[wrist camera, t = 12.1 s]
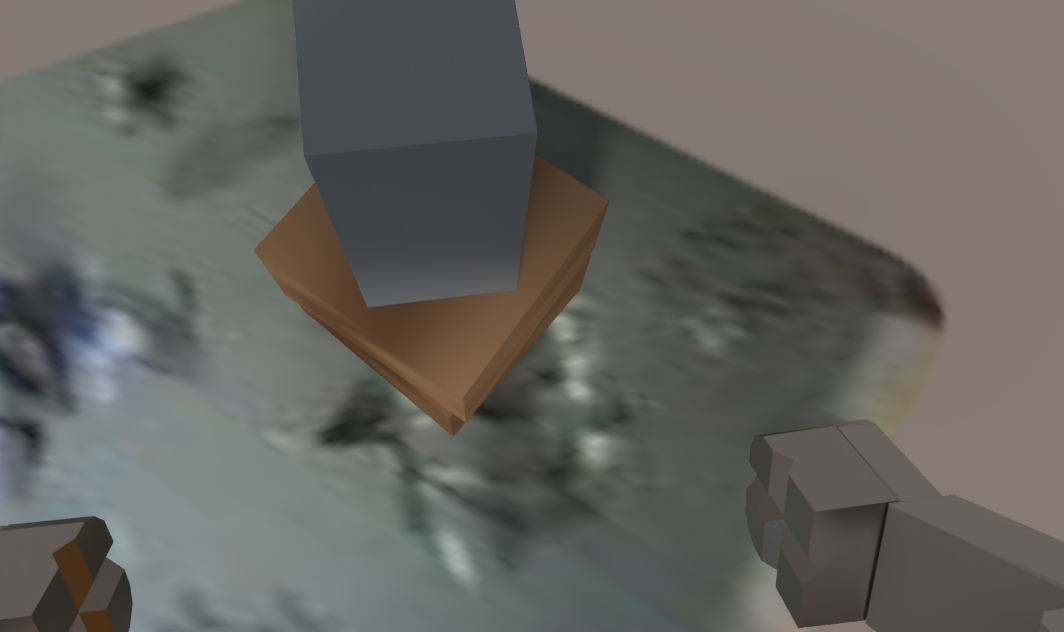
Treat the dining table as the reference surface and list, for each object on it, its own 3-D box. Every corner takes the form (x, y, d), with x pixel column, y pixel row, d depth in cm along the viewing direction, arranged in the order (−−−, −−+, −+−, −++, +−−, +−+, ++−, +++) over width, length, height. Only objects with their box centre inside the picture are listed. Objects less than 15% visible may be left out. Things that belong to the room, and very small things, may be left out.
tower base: (305, 312, 28) (280, 277, 25) (436, 180, 30) (429, 131, 27) (453, 438, 27) (448, 418, 24) (578, 292, 29) (590, 255, 25)
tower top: (285, 294, 24) (253, 250, 21) (421, 137, 26) (412, 74, 23) (466, 423, 24) (463, 398, 20) (593, 249, 26) (609, 200, 22)
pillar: (367, 307, 21) (303, 155, 13) (354, 173, 22) (290, -36, 14) (516, 289, 21) (537, 133, 14) (496, 159, 22) (505, -52, 15)
